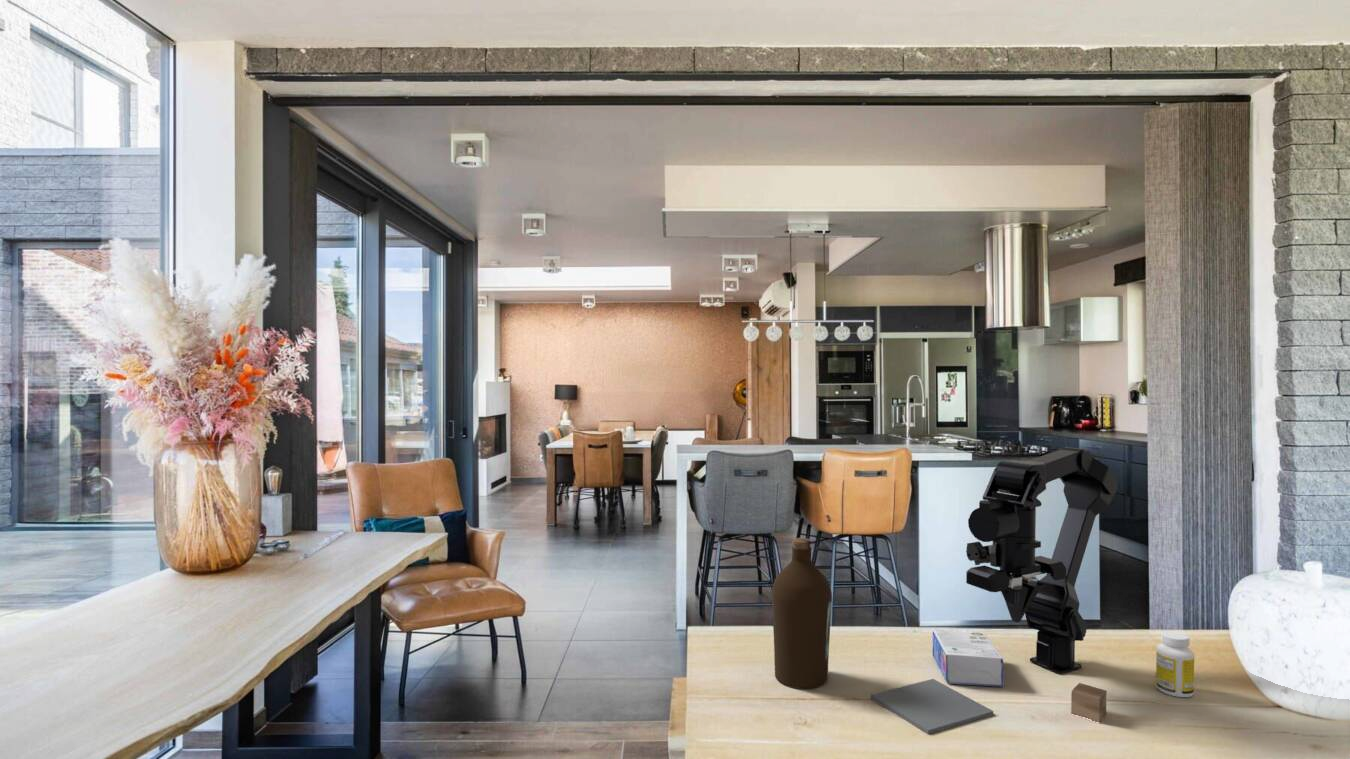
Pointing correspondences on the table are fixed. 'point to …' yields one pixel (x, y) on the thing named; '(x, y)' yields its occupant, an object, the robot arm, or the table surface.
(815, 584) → the olive oil
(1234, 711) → the table surface
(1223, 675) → the table surface
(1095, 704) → the walnut block
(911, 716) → the mat
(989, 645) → the ink cartridge box
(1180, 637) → the supplement bottle
